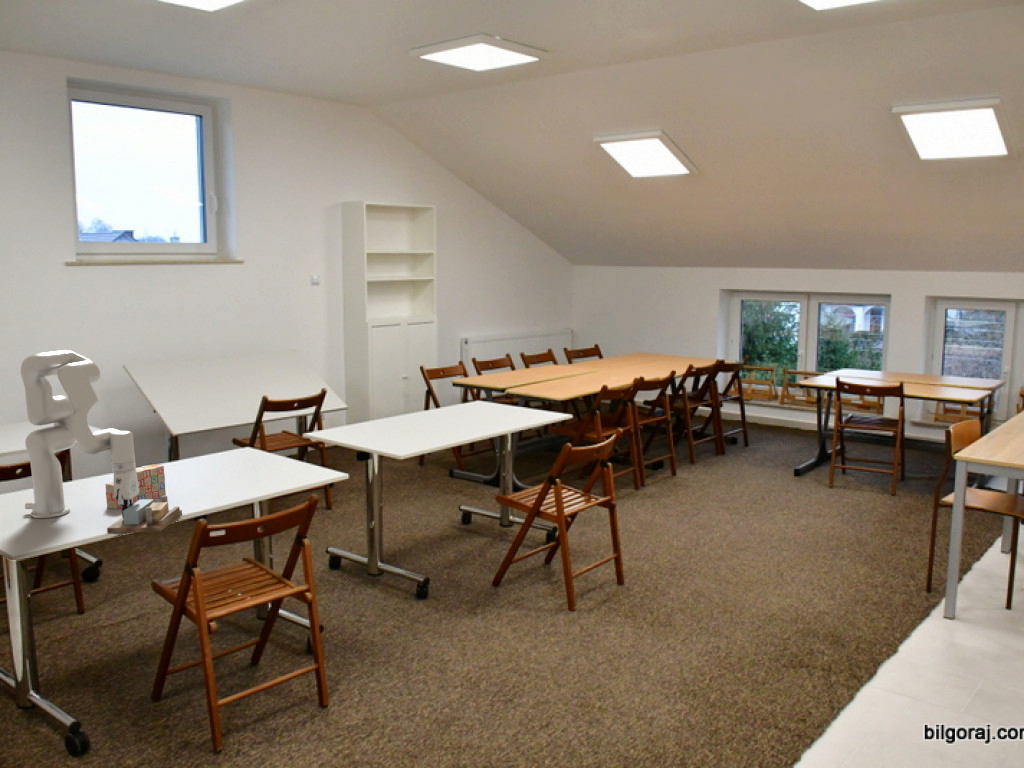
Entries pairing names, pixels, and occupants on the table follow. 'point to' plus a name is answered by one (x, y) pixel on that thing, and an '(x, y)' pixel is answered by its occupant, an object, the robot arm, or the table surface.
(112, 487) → the stack of blocks
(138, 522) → the light blue long block
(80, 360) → the robot arm
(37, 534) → the table surface
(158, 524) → the base
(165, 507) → the wooden block
